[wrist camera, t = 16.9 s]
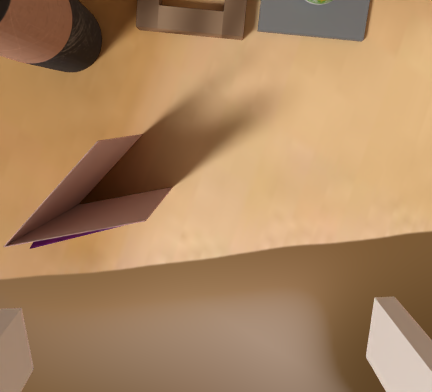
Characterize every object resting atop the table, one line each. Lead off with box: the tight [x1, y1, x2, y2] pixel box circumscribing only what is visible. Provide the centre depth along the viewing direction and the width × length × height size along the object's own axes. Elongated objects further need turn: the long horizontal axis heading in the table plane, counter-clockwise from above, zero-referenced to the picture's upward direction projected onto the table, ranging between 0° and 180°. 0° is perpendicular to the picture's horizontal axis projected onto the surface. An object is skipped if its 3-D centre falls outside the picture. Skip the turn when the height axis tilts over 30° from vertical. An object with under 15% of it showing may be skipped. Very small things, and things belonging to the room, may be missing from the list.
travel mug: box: [0, 0, 102, 72], centre depth 31 cm, size 8×8×20 cm
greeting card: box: [4, 134, 173, 249], centre depth 36 cm, size 11×7×15 cm, turn 101°
